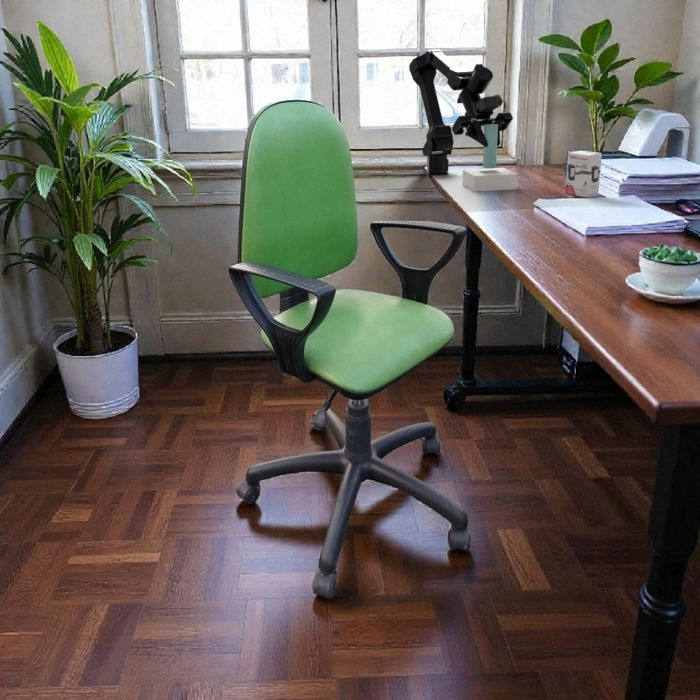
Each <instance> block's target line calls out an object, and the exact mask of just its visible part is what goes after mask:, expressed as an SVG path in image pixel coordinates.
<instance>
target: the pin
mask: <svg viewBox="0 0 700 700" xmlns="http://www.w3.org/2000/svg"><path fill="white" fill-rule="evenodd" d="M483 134H484V136H485V138H486V140H487V143H488V146H487V147H484V146H483V151H482V152H483V154H482V169H489V168H497V160H498V159H497V158H498V157H497V154H498V146H497V137H498V124H485V125H484V127H483Z"/></svg>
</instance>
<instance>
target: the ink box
mask: <svg viewBox="0 0 700 700" xmlns="http://www.w3.org/2000/svg"><path fill="white" fill-rule="evenodd" d="M602 156H603V154H602V153H601V152H598V151H597V152H595V151H589V150H577V151H571V152H570V151H569V152H568V154H567V165H566V166H567V167H566V175H565V176H566V177H565V179H566V180H565V191H564V193H565V194H567V195H571V196H572V195H573V196H577V197H583V198H591V197H597V196H599V191H600V189H599V188H600V178H601V168H602V167H601V166H602V158H603V157H602Z"/></svg>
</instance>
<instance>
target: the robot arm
mask: <svg viewBox="0 0 700 700" xmlns="http://www.w3.org/2000/svg"><path fill="white" fill-rule="evenodd" d="M408 69H409V73H410V75H411V78H412V81H414V83H415V84H416V85H417V86H418V87H419V90H420V94H421V99H422V102H423V108H424V112H425V115H426V120H427V125H428V130H427V133H426V136H425V137H426V141H425V143H424V145H423V147H422V149H421V152H422V155H423V156H425V157H426V170H425V173H426V174H427V175H429V176H433V174H437V175H438V176H439V175H447V174H449V161H450V160H449V158H448V155H452V152H453V147H454V136H461V135H463V134H464V132H465V130H466V132H465V137H469V138H471V139H472V140H474V141H476V142H477V143H479V144H481V145H482V147H483V148H484V147H487V146H488V143H487V140H486V138H485V136H484V130H483V129H482V128H484V125H485V124H498V137H497V147H499V146H500V145H501V136H500V134H501V133H500V132H503V131H505V130H507V128H508V127H509V125H510V123H512V121H513V120H514V118H513V115H512V113H511V112H510V111H509V112H505V111H504V112H499V113H497V114H496V116H495V118H494V117H491V116H493V114H494V110H495V109H497V108H499V107H501V106H502V105H503V98H502V97H501V95H500V94H494V95H491V96H490V95H489V96H484V97H481V95H480V94H484V93H485V91H486V90H487V89H488V87H489V85H490V84H491V82H492V81H493V78H494V73H493V72H492V70H491V69H489V68H487V66H483V64H482V63H476V64H475V66H474V68H473V70H472V69H469V68H467V67H462V66H459V65H458V64H457V63H455V62H454V61H452V59H450V58H449V57H448V56H447V55H446V54H444V52H443V50H441V49H429V50H427V51H426V52H424V53H423V54H420V55H419V56H416V57H415V58H413V59H412V60H411V61H410V63H409V64H408ZM437 71H438V72H439V73H441V74H442V76H444V77H445V78H446V79H447V81H446V84H447V85H448V86H449V87H450V89H451V90H452V91H453V92H455V91H460V93H459V94H458V97H457V99H456V104H462V105H463V107H464V110H465V112H464V115H458V116H457V118H456V120H455V121H454V123H453V125H452V127H451V125H449V124H448V125H446V124H445V122H444V119H443V115H442V111H441V107H440V103H439V99H438V95H437V91H436V87H435V78H436V75H437ZM464 128H465V130H464Z"/></svg>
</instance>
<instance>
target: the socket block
mask: <svg viewBox="0 0 700 700" xmlns="http://www.w3.org/2000/svg"><path fill="white" fill-rule="evenodd" d="M462 185H463V186H464V187H465V188H468V189H469V190H471V191H473V192H475V193H477V192H492V191H493V192H494V191H507V190H510V191H512V190H517V188H518V187H517V186H518V173H515V172H513V171H512V170H509V169H507V168H505V167H496V168H473V169H462Z"/></svg>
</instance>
